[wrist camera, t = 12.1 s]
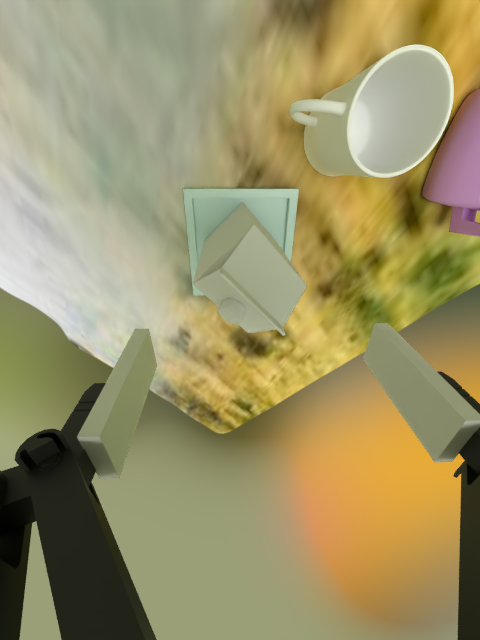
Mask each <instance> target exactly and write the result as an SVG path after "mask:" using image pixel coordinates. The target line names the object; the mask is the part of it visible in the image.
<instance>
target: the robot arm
mask: <svg viewBox="0 0 480 640" xmlns="http://www.w3.org/2000/svg"><path fill="white" fill-rule="evenodd" d="M363 360H364V362H365V363H366V365H367V366H368V367H369V369H370V370H371V372H372V373H373V374H374V376H375V377H376V379H377V380H378V382H379V383H380V384H381V386H382V387H383V389H384V390H385V392H386V393H387V395H388V396H389V397H390V399H391V400H392V402H393V403H394V405H395V406H396V407H397V409H398V410H399V412H400V413H401V414H402V416H403V418H404V419H405V420H406V422H407V423H408V425H409V426H410V428H411V429H412V430H413V432H414V433H415V435H416V436H417V438H418V439H419V440H420V442H421V443H422V445H423V446H424V447H425V449H426V450H427V452H428V453H429V455H430V456H431V458H432V459H433V461H434V462H452V461H453V460H454V459H455V457H456V456H457V455H458V454H460V455H461V456H462V457H463V459H464V460H465V461H464V462H463V463H462V465H461V466H460V467H459V468H458V469H457V471H456V472H455V473H454V477H458V475H459V474H461V517H460V562H459V563H460V564H459V609H458V640H480V404H479V403H478V402H477V401H476V400H475V399H474V398H473V397H470V395H469V394H468V393H467V392H466V391H465V390H464V389H462V387H461V386H460V385H459V384H458V383H457V382H456V381H455V380H453V379H452V378H451V377H449V376H448V375H446V374H444V373H443V372H437V371H435V369H434V368H433V367H432V366H430V365H429V364H428V363H427V362H426V361H425V360H424V359H423V358H422V357H421V356H420V355H419V354H418V353H417V352H416V351H415V350H414V349H413V348H412V347H411V346H410V345H409V344H408V343H407V342H406V341H405V340H404V339H403V338H402V337H401V336H400V335H399V334H398V333H397V332H396V331H395V330H394V329H393V328H392V327H391V326H390V325H389V324H388V323H375V325H374V328H373V331H372V334H371V337H370V340H369V343H368V346H367V349H366V352H365V355H364V358H363ZM156 367H157V363H156V359H155V354H154V350H153V345H152V341H151V336H150V332H149V329H135V330H134V332H133V334H132V336H131V338H130V339H129V341H128V343H127V345H126V347H125V349H124V350H123V352H122V354H121V356H120V358H119V360H118V362H117V363H116V365H115V367H114V369H113V371H112V373H111V375H110V376H109V378H108V380H107V382H106V383H95V384H93V385H92V386H91V387H90V388H89V389H88V390H86V391H85V393H84V394H83V395H82V397H81V399H80V401H79V403H78V404H77V405H76V407H75V409H74V412H72V414H71V415H70V417H69V419H68V420H67V422H66V424H65V425H64V427H63V428H62V430H61V431H59V430H56V429H47V430H43V431H41V432H38V433H36V434H34V435H33V436H31V437H30V438H28V439H27V440H26V441H25V442H24V443H23V444H22V445H21V446H20V447H19V449H18V451H17V452H16V456H15V461H16V462H17V463H18V464H19V466H17V467H14V468H10V469H7V470H4V471H0V640H19V637H20V628H21V619H22V610H23V600H24V590H25V583H26V573H27V564H28V555H29V546H30V537H31V528H32V523H33V522H35V521H37V526H38V530H39V535H40V540H41V545H42V549H43V554H44V558H45V563H46V568H47V573H48V577H49V582H50V587H51V592H52V596H53V601H54V606H55V610H56V614H57V620H58V624H59V629H60V633H61V638H62V640H156V637H155V635H154V633H153V630H152V628H151V626H150V623H149V620H148V618H147V615H146V613H145V611H144V608H143V606H142V603H141V601H140V599H139V596H138V593H137V591H136V589H135V586H134V584H133V581H132V579H131V577H130V574H129V572H128V569H127V567H126V564H125V562H124V560H123V557H122V555H121V552H120V550H119V547H118V545H117V542H116V540H115V538H114V535H113V533H112V530H111V528H110V526H109V523H108V521H107V518H106V516H105V513H104V511H103V509H102V506H101V504H100V501H99V499H98V496H97V494H96V491H95V489H94V486H93V484H92V483H91V481H92V479H93V477H94V474H95V472H96V473H97V475H98V476H99V478H100V479H107V478H119V477H120V474H121V471H122V468H123V466H124V462H125V459H126V457H127V454H128V451H129V448H130V445H131V441H132V439H133V435H134V433H135V429H136V427H137V424H138V421H139V418H140V415H141V412H142V409H143V406H144V403H145V400H146V397H147V394H148V391H149V388H150V385H151V382H152V379H153V376H154V373H155V370H156Z"/></svg>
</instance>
